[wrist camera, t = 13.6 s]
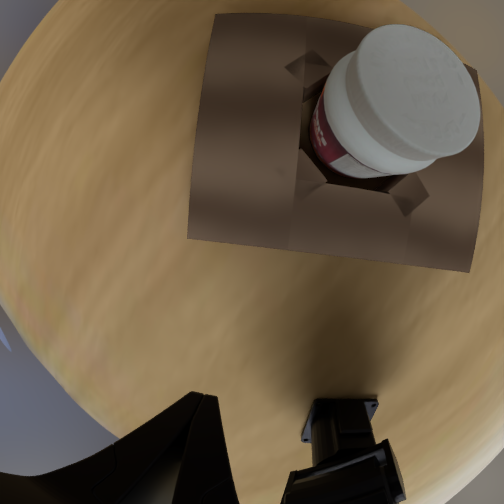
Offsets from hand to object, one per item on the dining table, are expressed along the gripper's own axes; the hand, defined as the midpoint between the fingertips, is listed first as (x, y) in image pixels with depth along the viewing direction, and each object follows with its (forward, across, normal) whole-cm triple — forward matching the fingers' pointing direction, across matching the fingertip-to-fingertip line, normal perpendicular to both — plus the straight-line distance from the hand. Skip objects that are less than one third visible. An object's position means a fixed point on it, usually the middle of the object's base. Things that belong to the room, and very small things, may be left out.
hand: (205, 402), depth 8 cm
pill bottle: (+13, -6, -11) cm, 18 cm away
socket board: (+13, -6, -11) cm, 18 cm away
